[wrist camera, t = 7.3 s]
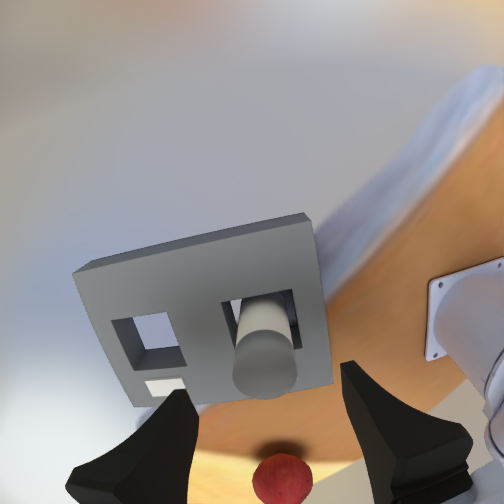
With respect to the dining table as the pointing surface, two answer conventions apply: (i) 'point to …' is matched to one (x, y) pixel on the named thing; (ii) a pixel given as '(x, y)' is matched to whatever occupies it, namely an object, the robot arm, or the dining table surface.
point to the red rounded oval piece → (282, 480)
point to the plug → (264, 348)
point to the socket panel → (205, 307)
